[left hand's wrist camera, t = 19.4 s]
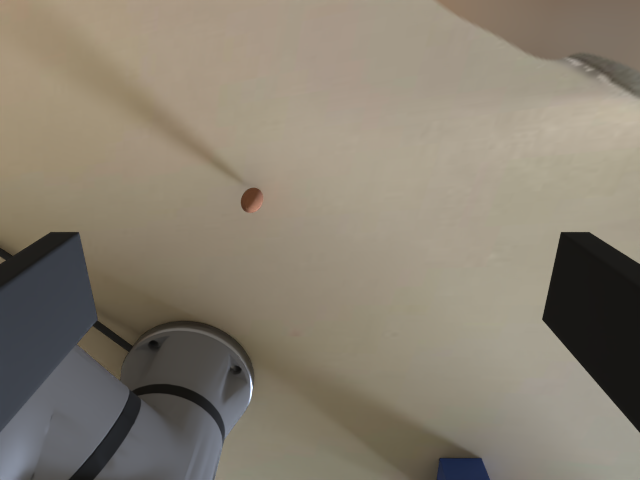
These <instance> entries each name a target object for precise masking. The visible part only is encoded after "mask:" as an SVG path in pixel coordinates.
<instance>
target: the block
mask: <svg viewBox="0 0 640 480" xmlns="http://www.w3.org/2000/svg"><path fill="white" fill-rule="evenodd" d="M437 480H490V478H489V476H488V474H487V471H486V469H485V466H484V464H483V461H482V459H481V458H440V460H439V467H438V475H437Z"/></svg>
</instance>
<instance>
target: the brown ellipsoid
mask: <svg viewBox="0 0 640 480" xmlns="http://www.w3.org/2000/svg"><path fill="white" fill-rule="evenodd" d="M262 203H263V194H262V192H261V191H260V190H259V189H257V188H250V189H248V190H247V191H246V192H245V193H244V194H243V196H242V198H241V206H242V208H243V210H244V211H246V212H248V213H253V212H255V211H257V210H258V209H259V208H260V207H261V205H262Z"/></svg>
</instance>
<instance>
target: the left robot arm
mask: <svg viewBox="0 0 640 480" xmlns="http://www.w3.org/2000/svg"><path fill="white" fill-rule="evenodd" d="M0 257H2V258H3V259H5V260H6V261H4V262H3V263H1V264H0V480H214V479H215V475H216V471H217V467H218V463H219V459H220V455H221V451H222V447H223V443H224V439H225V438H226V436H227V435H228V434H229V432H230V431H231V430H232V428H233V427H234V425H235V424H236V423H237V421H238V420H239V419H240V417H241V416H242V415H243V413H244V412H245V410H246V409H247V407H248V405H249V402H250V399H251V395H252V390H253V385H254V372H253V367H252V364H251V361H250V359H249V357H248V355H247V354H246V352H245V351H244V349H243V348H242V347H241V346H240V344H239V343H237V342H236V341H235V340H234V339H233V338H232V337H231V336H229V335H228V334H226V333H224V332H223V331H221V330H219V329H217V328H214V327H212V326H209V325H206V324H202V323H197V322H189V321H179V322H171V323H166V324H162V325H159V326H157V327H155V328H153V329H151V330H149V331H147V332H146V333H145V334H143V335H142V336H141V337H140V338H139V339H138V340H137V341H136V343H135V344H134V345H133V346H132V345H130V344H129V343H128V342H126V341H125V340H123V339H122V338H121V337H119V336H118V335H116V334H115V333H114V332H112V331H111V330H110V329H108V328H107V327H105V326H104V325H103V324H101V323H100V322H99V321H97V320H98V318H97V314H96V309H95V304H94V300H93V295H92V290H91V286H90V281H89V276H88V272H87V267H86V263H85V258H84V253H83V249H82V244H81V239H80V235H79V232H50V233H49V234H47V235H46V236H44V237H42V238H41V239H39V240H38V241H36V242H35V243H33V244H31V245H30V246H28V247H27V248H25V249H23V250H22V251H20V252H19V253H17V254H16V255H14V256H12V255H10V254H9V253H7V252H6V251H4V250H3V249H1V248H0ZM542 320H543V321H544V322H545V323H546V324H547V326H548V327H549V328H550V329H551V330H552V331H553V333H554V334H555V335H556V336H557V337H558V338H559V340H560V341H561V342H562V343H563V344H564V345H565V346H566V348H567V349H568V350H569V351H570V352H571V353H572V355H573V356H574V357H575V358H576V359H577V360H578V362H579V363H580V364H581V365H582V366H583V367H584V368H585V370H586V371H587V372H588V373H589V374H590V375H591V377H592V378H593V379H594V380H595V381H596V382H597V384H598V385H599V386H600V387H601V388H602V389H603V390H604V392H605V393H606V394H607V395H608V396H609V397H610V399H611V400H612V401H613V402H614V403H615V404H616V406H617V407H618V408H619V409H620V410H621V411H622V412H623V414H624V415H625V416H626V417H627V418H628V419H629V421H630V422H631V423H632V424H633V425H634V426H635V428H636V429H637V430H638V431H639V432H640V264H639V263H637V262H636V261H634V260H632V259H631V258H629V257H628V256H626V255H624V254H623V253H621V252H620V251H618V250H617V249H615V248H613V247H612V246H610V245H609V244H607V243H605V242H604V241H602V240H601V239H599V238H598V237H596V236H594V235H593V234H591V233H590V232H561V235H560V239H559V244H558V249H557V253H556V258H555V263H554V267H553V272H552V276H551V281H550V286H549V290H548V295H547V300H546V304H545V309H544V314H543V318H542ZM92 326H94V327H95V328H97V329H98V330H99V331H101V332H102V333H103V334H105V335H106V336H108V337H109V338H110V339H112V340H113V341H115V342H116V343H117V344H119V345H120V346H121V347H123V348H124V349H126V350H127V351H128V352H129V353H128V355H127V356H126V358H125V360H124V362H123V365H122V370H121V378H120V381H119V380H118V379H117V378H116V377H115V376H113V375H112V374H111V373H110V372H109V371H107V370H106V369H105V368H104V367H103V366H101V365H100V364H99V363H98V362H97V361H96V360H94V359H93V358H92V357H91V356H90V355H89V354H87V353H86V352H85V351H84V350H83V349H82V348H80V347H79V346H78V345H77V343H78V342H79V341H80V340H81V338H82V337H83V336H84V335H85V334H86V333H87V331H88V330H89V329H90V328H91V327H92Z"/></svg>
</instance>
